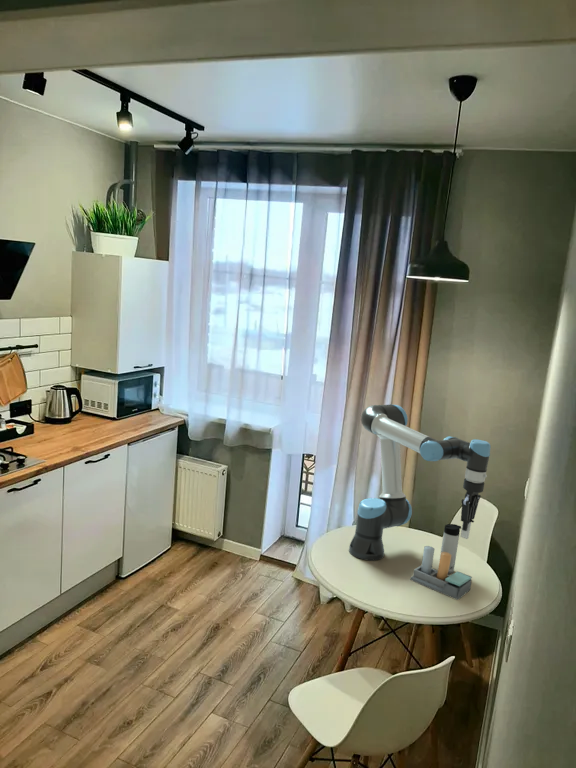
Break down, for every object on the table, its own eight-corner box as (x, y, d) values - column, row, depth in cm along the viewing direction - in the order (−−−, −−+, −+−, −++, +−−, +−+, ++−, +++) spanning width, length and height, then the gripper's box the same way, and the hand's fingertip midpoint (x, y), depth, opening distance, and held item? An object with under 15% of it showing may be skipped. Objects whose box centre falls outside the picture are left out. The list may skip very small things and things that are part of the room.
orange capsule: (434, 582, 226) (439, 554, 224) (437, 578, 229) (443, 550, 227) (444, 586, 224) (449, 557, 222) (447, 582, 227) (452, 554, 225)
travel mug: (455, 575, 236) (462, 529, 233) (438, 572, 237) (445, 526, 235) (453, 568, 242) (460, 524, 239) (437, 565, 244) (444, 521, 241)
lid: (445, 580, 219) (445, 578, 219) (457, 573, 228) (457, 570, 228) (459, 586, 215) (459, 584, 215) (471, 578, 225) (471, 576, 224)
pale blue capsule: (418, 575, 230) (422, 547, 228) (423, 572, 233) (427, 545, 232) (427, 579, 228) (431, 551, 226) (432, 576, 231) (436, 548, 229)
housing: (410, 579, 228) (411, 569, 228) (423, 570, 237) (424, 561, 237) (457, 599, 216) (459, 589, 215) (470, 589, 225) (471, 579, 224)
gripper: (477, 486, 212) (466, 545, 216) (490, 480, 222) (480, 536, 226) (458, 480, 217) (448, 538, 221) (472, 474, 227) (462, 530, 231)
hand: (464, 537), depth 223 cm, fingers closed
